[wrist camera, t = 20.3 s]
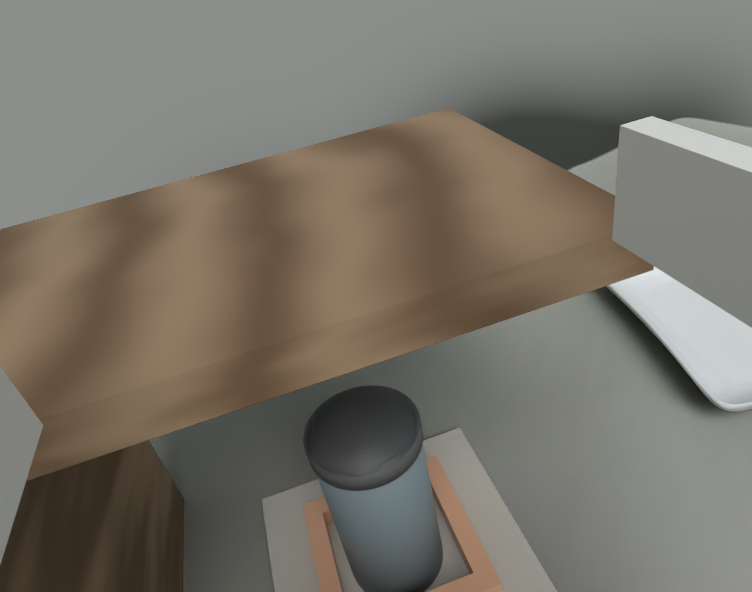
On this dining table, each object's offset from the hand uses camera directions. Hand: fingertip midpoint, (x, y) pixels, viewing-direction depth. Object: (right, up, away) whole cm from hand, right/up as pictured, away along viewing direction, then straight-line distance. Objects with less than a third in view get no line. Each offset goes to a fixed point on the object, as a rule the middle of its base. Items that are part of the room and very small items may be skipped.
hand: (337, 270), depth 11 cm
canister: (+2, -17, +24) cm, 30 cm away
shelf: (0, -17, +26) cm, 31 cm away
